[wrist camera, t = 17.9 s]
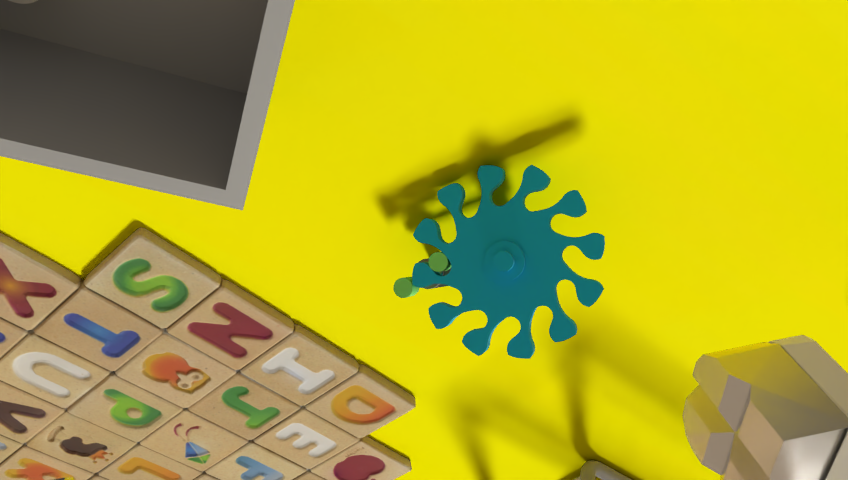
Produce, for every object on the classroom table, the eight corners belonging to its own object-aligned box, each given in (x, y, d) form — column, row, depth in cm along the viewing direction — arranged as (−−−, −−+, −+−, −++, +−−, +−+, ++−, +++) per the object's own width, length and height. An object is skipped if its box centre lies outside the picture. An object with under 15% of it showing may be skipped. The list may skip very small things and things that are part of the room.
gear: (587, 142, 36) (623, 348, 35) (592, 157, 41) (623, 334, 41) (373, 185, 38) (403, 376, 38) (405, 193, 44) (432, 359, 44)
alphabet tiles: (47, 162, 37) (40, 174, 36) (469, 428, 54) (471, 440, 53) (-179, 405, 48) (-188, 418, 47) (230, 560, 65) (228, 572, 65)
